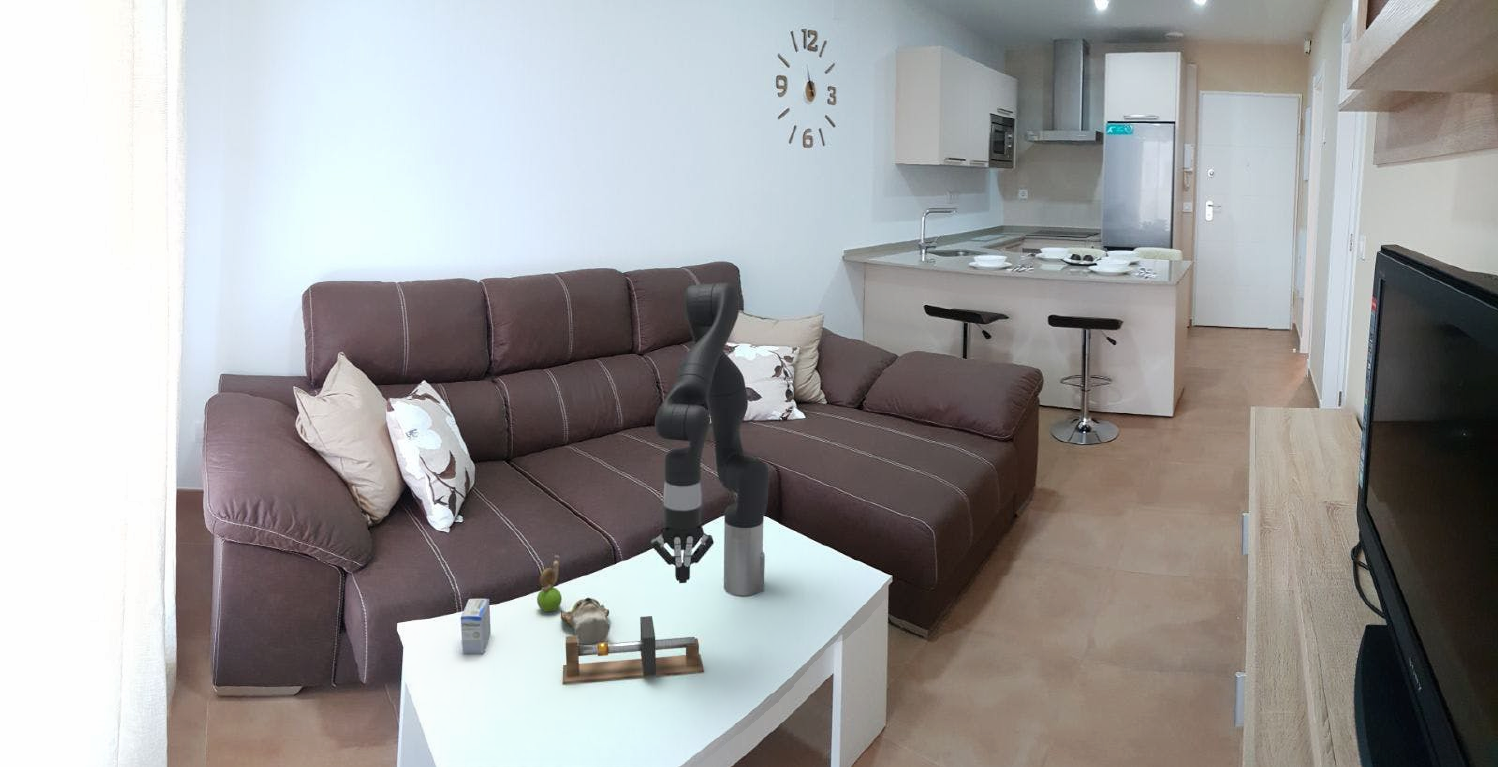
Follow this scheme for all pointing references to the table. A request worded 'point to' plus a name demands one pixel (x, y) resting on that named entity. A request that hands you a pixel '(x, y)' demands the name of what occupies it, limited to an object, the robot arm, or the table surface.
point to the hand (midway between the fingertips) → (682, 581)
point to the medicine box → (475, 626)
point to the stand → (626, 665)
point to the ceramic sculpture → (588, 621)
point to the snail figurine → (549, 589)
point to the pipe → (632, 646)
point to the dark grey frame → (648, 646)
